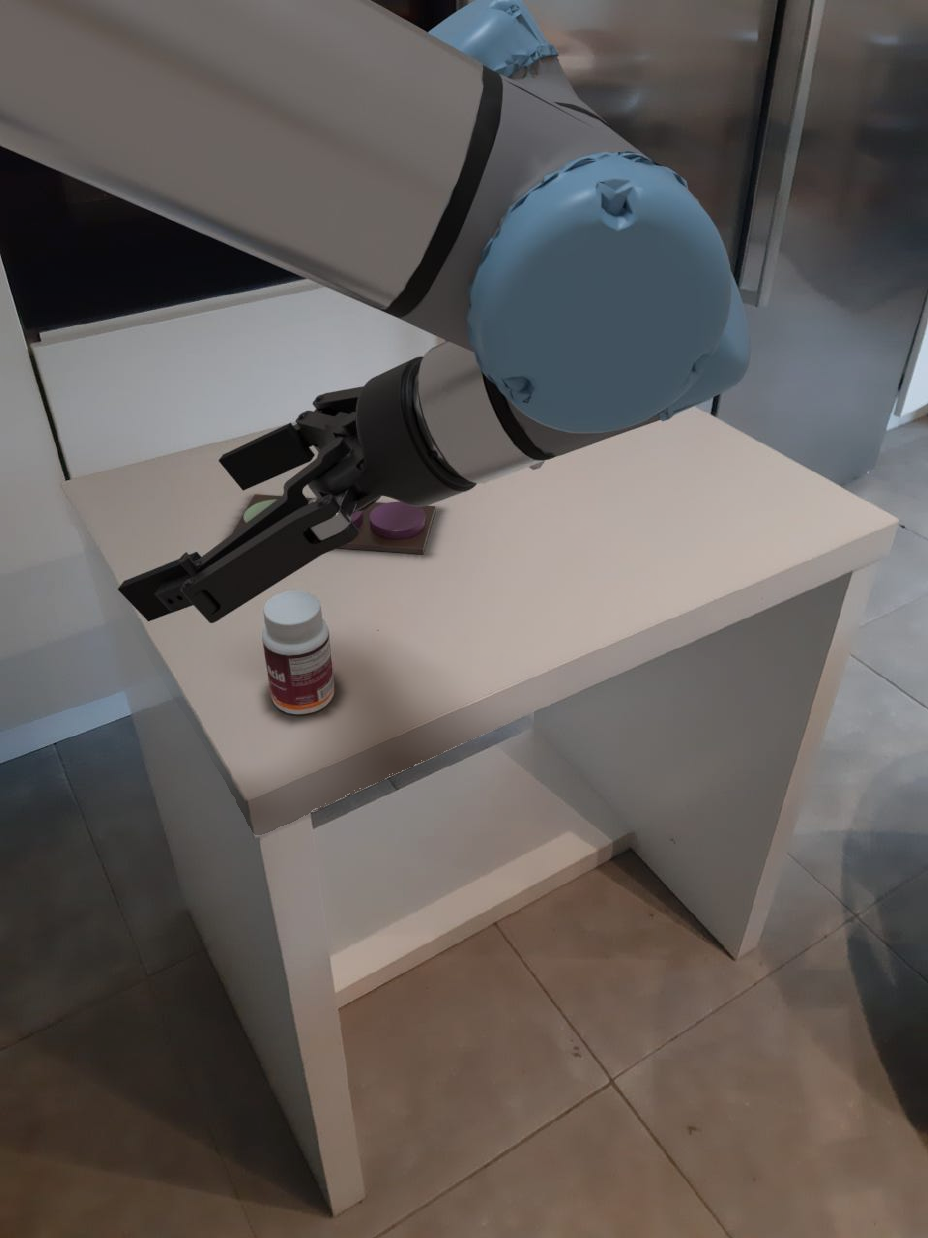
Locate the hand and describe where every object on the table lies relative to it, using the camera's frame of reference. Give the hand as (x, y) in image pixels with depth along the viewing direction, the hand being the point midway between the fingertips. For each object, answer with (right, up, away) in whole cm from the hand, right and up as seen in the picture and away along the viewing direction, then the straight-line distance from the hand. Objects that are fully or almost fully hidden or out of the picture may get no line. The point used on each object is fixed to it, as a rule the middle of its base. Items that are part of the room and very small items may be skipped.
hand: (187, 532), depth 63 cm
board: (+6, +3, +30) cm, 30 cm away
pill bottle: (+6, -12, +11) cm, 17 cm away
